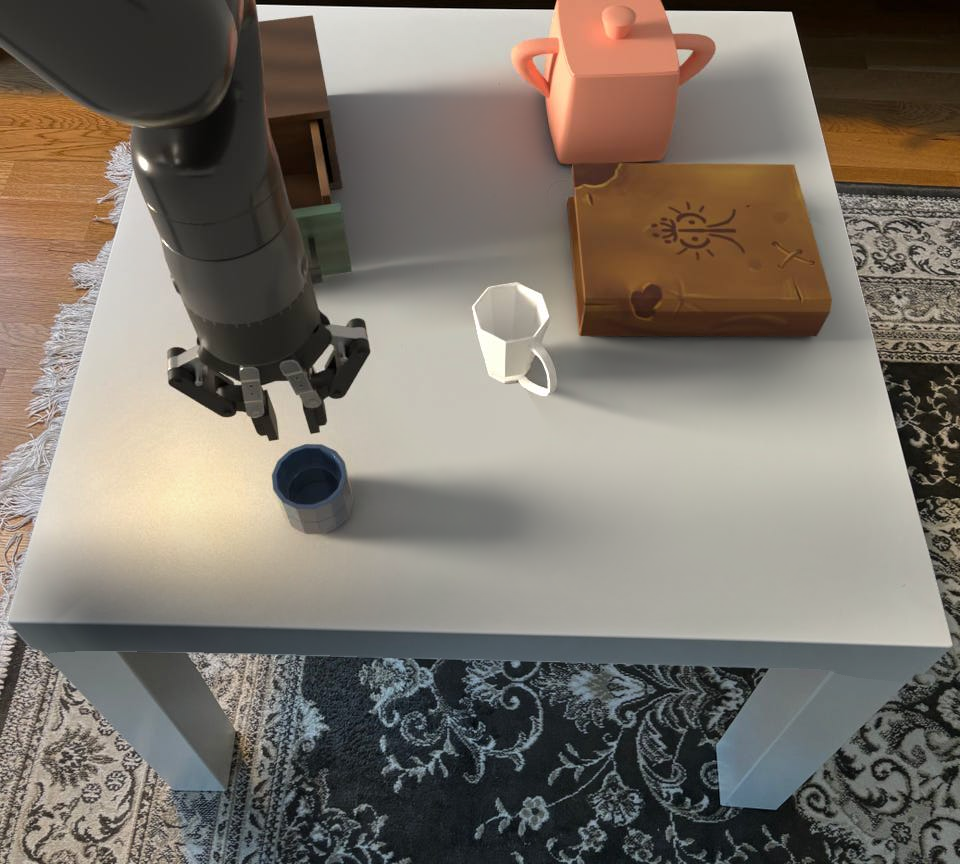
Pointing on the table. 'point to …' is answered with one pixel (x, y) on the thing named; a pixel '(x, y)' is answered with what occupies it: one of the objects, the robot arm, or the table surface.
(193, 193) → the robot arm
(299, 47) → the cabinet
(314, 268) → the drawer
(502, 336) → the cup
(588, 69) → the pink lidded sugar bowl
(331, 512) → the blue faceted tumbler
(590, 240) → the diary
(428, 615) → the table surface
